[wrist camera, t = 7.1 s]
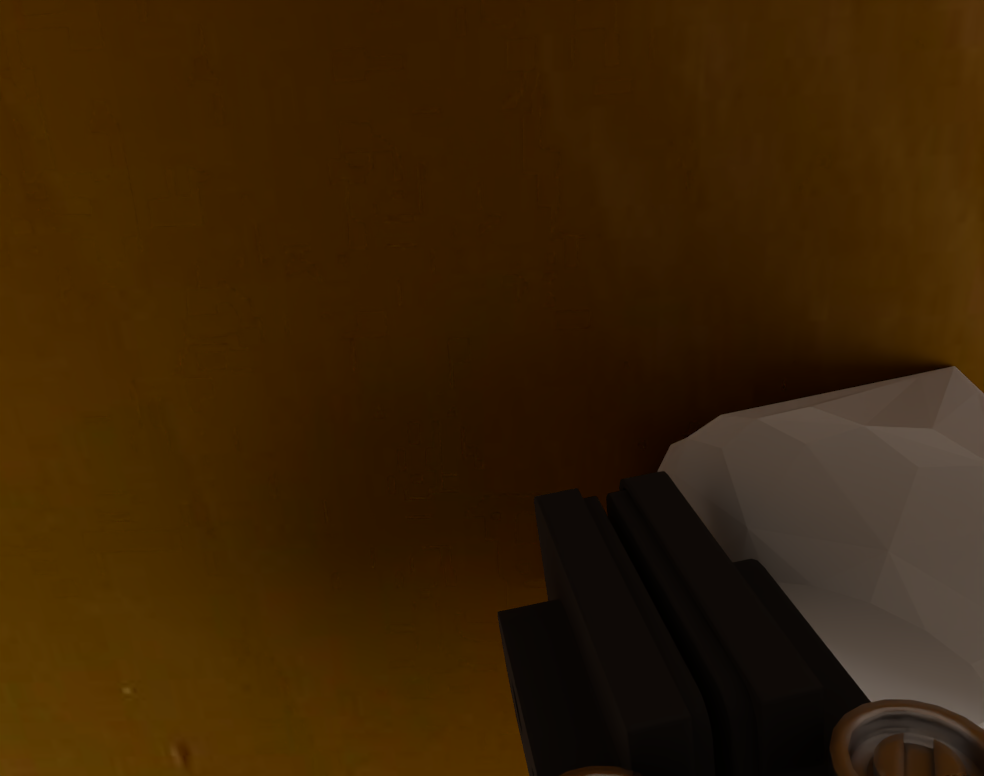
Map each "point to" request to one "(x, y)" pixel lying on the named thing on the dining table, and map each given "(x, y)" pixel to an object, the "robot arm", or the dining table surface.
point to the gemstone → (862, 524)
